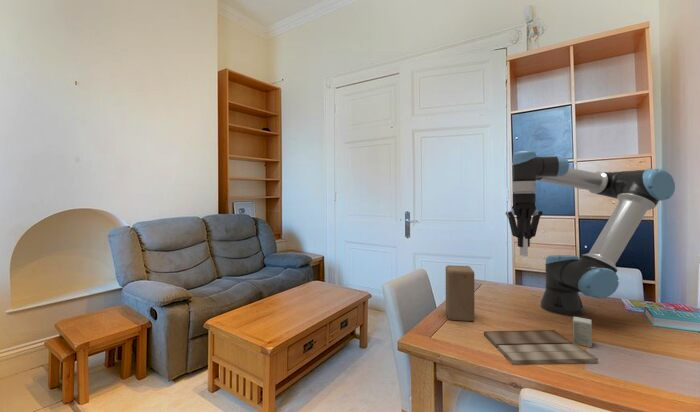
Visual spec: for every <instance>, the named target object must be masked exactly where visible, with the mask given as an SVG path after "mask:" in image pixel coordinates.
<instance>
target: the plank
mask: <svg viewBox="0 0 700 412" xmlns="http://www.w3.org/2000/svg"><path fill="white" fill-rule="evenodd" d="M483 335H484V337H485V339H487V340H488V341H489V342H490V343H491V344H492V345H493V346H494V347H495V348H496V349H498V345H538V344H574V343H573V340H570V339H568V338H566V337H565V336H564V335H562V334H561V333H559V332H557V331H556V330H555V329H550V330H549V329H548V330H547V329H541V330H540V329H538V330H537V329H536V330H492V331H491V330H490V331H489V330H488V331H486V330H485V331H484V330H483Z"/></svg>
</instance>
